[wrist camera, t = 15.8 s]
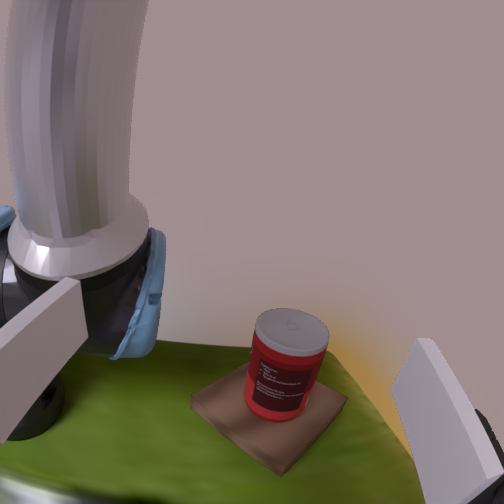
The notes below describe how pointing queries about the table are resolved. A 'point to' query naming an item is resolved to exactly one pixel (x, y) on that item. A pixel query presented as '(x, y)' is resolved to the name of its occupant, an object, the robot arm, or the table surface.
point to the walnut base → (261, 431)
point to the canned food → (284, 363)
